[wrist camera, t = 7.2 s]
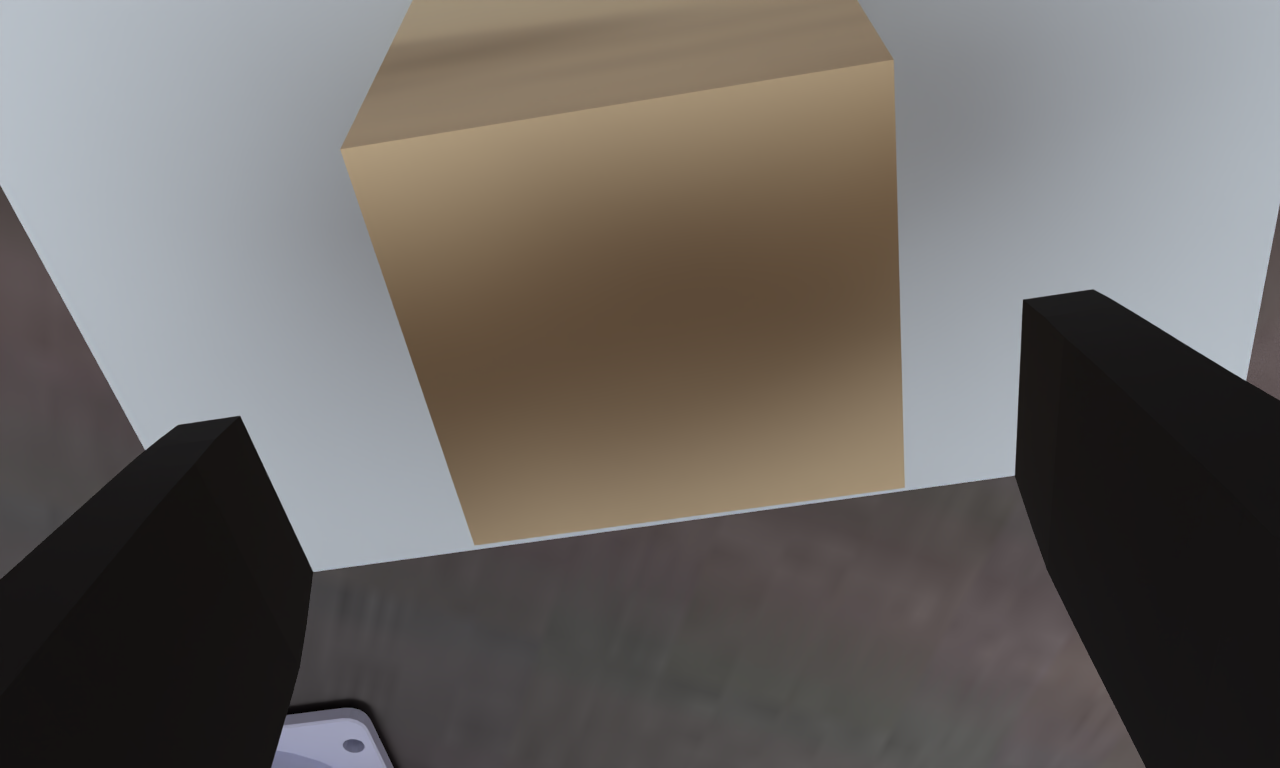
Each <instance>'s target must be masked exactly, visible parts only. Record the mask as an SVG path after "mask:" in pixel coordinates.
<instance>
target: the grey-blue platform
mask: <svg viewBox="0 0 1280 768" xmlns="http://www.w3.org/2000/svg"><path fill="white" fill-rule="evenodd" d="M857 1H858V2H859V4H860V6H861V7H862V9H863V10H864V12H865V14H866V15H867V17H868V19H869V20H870V22H871V23H872V25H873V27H874V28H875V30H876V32H877V33H878V35H879V36H880V38H881V40H882V41H883V43H884V45H885V46H886V48H887V49H888V51H889V53H890V54H891V56H892V58H893V59H894V87H895V125H896V164H897V203H898V241H899V280H900V319H901V357H902V396H903V435H904V473H905V488H900V489H892V490H885V491H877V492H870V493H862V494H855V495H847V496H840V497H833V498H825V499H818V500H810V501H803V502H795V503H788V504H780V505H773V506H765V507H758V508H751V509H743V510H736V511H728V512H721V513H713V514H706V515H698V516H691V517H683V518H676V519H668V520H661V521H654V522H646V523H639V524H631V525H624V526H616V527H609V528H601V529H594V530H586V531H579V532H571V533H564V534H557V535H549V536H542V537H534V538H527V539H519V540H512V541H504V542H497V543H489V544H482V545H474V543H473V540H472V537H471V534H470V531H469V528H468V525H467V522H466V519H465V516H464V513H463V510H462V507H461V504H460V501H459V499H458V496H457V493H456V490H455V487H454V484H453V481H452V478H451V475H450V472H449V469H448V466H447V463H446V460H445V457H444V454H443V451H442V448H441V445H440V442H439V440H438V437H437V434H436V431H435V428H434V425H433V422H432V419H431V416H430V413H429V410H428V407H427V404H426V401H425V398H424V395H423V392H422V389H421V386H420V384H419V381H418V378H417V375H416V372H415V369H414V366H413V363H412V360H411V357H410V354H409V351H408V348H407V345H406V342H405V339H404V336H403V333H402V330H401V327H400V325H399V322H398V319H397V316H396V313H395V310H394V307H393V304H392V301H391V298H390V295H389V292H388V289H387V286H386V283H385V280H384V277H383V274H382V271H381V268H380V266H379V263H378V260H377V257H376V254H375V251H374V248H373V245H372V242H371V239H370V236H369V233H368V230H367V227H366V224H365V221H364V218H363V215H362V212H361V210H360V207H359V204H358V201H357V198H356V195H355V192H354V189H353V186H352V183H351V180H350V177H349V174H348V171H347V168H346V165H345V162H344V159H343V156H342V153H341V151H340V149H341V147H342V145H343V142H344V140H345V138H346V136H347V134H348V132H349V130H350V128H351V126H352V124H353V122H354V120H355V118H356V116H357V114H358V112H359V109H360V107H361V105H362V103H363V101H364V99H365V97H366V95H367V93H368V91H369V89H370V87H371V85H372V83H373V81H374V79H375V77H376V74H377V72H378V70H379V68H380V66H381V64H382V62H383V60H384V58H385V56H386V54H387V52H388V50H389V48H390V46H391V44H392V42H393V39H394V37H395V35H396V33H397V31H398V29H399V27H400V25H401V23H402V21H403V19H404V17H405V15H406V13H407V11H408V9H409V7H410V4H411V2H412V0H0V185H1V187H2V189H3V191H4V193H5V195H6V196H7V198H8V200H9V202H10V204H11V205H12V207H13V209H14V211H15V213H16V215H17V216H18V218H19V220H20V222H21V224H22V226H23V227H24V229H25V231H26V233H27V235H28V237H29V238H30V240H31V242H32V244H33V246H34V248H35V249H36V251H37V253H38V255H39V257H40V259H41V260H42V262H43V264H44V266H45V268H46V270H47V271H48V273H49V275H50V277H51V279H52V280H53V282H54V284H55V286H56V288H57V290H58V291H59V293H60V295H61V297H62V299H63V301H64V302H65V304H66V306H67V308H68V310H69V312H70V313H71V315H72V317H73V319H74V321H75V323H76V324H77V326H78V328H79V330H80V332H81V334H82V335H83V337H84V339H85V341H86V343H87V345H88V346H89V348H90V350H91V352H92V354H93V355H94V357H95V359H96V361H97V363H98V365H99V366H100V368H101V370H102V372H103V374H104V376H105V377H106V379H107V381H108V383H109V385H110V387H111V388H112V390H113V392H114V394H115V396H116V398H117V399H118V401H119V403H120V405H121V407H122V409H123V410H124V412H125V414H126V416H127V418H128V419H129V421H130V423H131V425H132V427H133V429H134V430H135V432H136V434H137V436H138V438H139V440H140V441H141V443H142V445H143V447H144V449H145V450H146V449H147V448H149V447H150V446H151V445H152V444H154V443H155V442H156V441H157V440H159V439H160V438H161V437H162V436H164V435H165V434H166V433H168V432H169V431H170V430H172V429H173V428H174V427H176V426H177V425H180V424H187V423H194V422H200V421H207V420H214V419H221V418H227V417H234V416H241V419H242V421H243V423H244V425H245V427H246V429H247V431H248V433H249V436H250V438H251V440H252V442H253V444H254V446H255V448H256V451H257V453H258V455H259V457H260V459H261V461H262V463H263V466H264V468H265V470H266V472H267V474H268V476H269V478H270V480H271V483H272V485H273V487H274V489H275V491H276V493H277V495H278V498H279V500H280V502H281V504H282V506H283V508H284V510H285V512H286V515H287V517H288V519H289V521H290V523H291V525H292V527H293V530H294V532H295V534H296V536H297V538H298V540H299V542H300V545H301V547H302V549H303V551H304V553H305V555H306V557H307V559H308V562H309V564H310V566H311V568H312V570H313V572H317V571H324V570H331V569H339V568H346V567H353V566H360V565H368V564H375V563H382V562H389V561H397V560H404V559H411V558H419V557H426V556H433V555H440V554H448V553H455V552H462V551H470V550H477V549H484V548H491V547H499V546H506V545H513V544H520V543H528V542H535V541H542V540H550V539H557V538H564V537H571V536H579V535H586V534H593V533H601V532H608V531H615V530H622V529H630V528H637V527H644V526H652V525H659V524H666V523H673V522H681V521H688V520H695V519H702V518H710V517H717V516H724V515H732V514H739V513H746V512H753V511H761V510H768V509H775V508H783V507H790V506H797V505H804V504H812V503H819V502H826V501H834V500H841V499H848V498H855V497H863V496H870V495H877V494H884V493H892V492H899V491H906V490H914V489H921V488H928V487H935V486H943V485H950V484H957V483H965V482H972V481H979V480H986V479H994V478H1001V477H1008V476H1015V461H1016V439H1017V417H1018V395H1019V373H1020V351H1021V329H1022V307H1023V299H1030V298H1037V297H1043V296H1050V295H1057V294H1064V293H1070V292H1077V291H1084V290H1091V289H1094V290H1096V291H1098V292H1100V293H1101V294H1103V295H1105V296H1107V297H1109V298H1110V299H1112V300H1114V301H1116V302H1117V303H1119V304H1121V305H1122V306H1124V307H1126V308H1127V309H1129V310H1131V311H1132V312H1134V313H1136V314H1137V315H1139V316H1141V317H1142V318H1144V319H1145V320H1147V321H1149V322H1150V323H1152V324H1154V325H1155V326H1157V327H1158V328H1160V329H1162V330H1163V331H1165V332H1166V333H1168V334H1170V335H1171V336H1173V337H1175V338H1176V339H1178V340H1179V341H1181V342H1183V343H1184V344H1186V345H1188V346H1189V347H1191V348H1192V349H1194V350H1196V351H1197V352H1199V353H1201V354H1202V355H1204V356H1205V357H1207V358H1209V359H1210V360H1212V361H1214V362H1215V363H1217V364H1219V365H1220V366H1222V367H1224V368H1225V369H1227V370H1229V371H1230V372H1232V373H1234V374H1235V375H1237V376H1239V377H1240V378H1242V379H1244V380H1245V381H1246V378H1247V373H1248V367H1249V362H1250V357H1251V352H1252V346H1253V341H1254V336H1255V331H1256V325H1257V320H1258V315H1259V310H1260V305H1261V299H1262V294H1263V289H1264V284H1265V278H1266V273H1267V268H1268V263H1269V257H1270V252H1271V247H1272V242H1273V236H1274V231H1275V226H1276V221H1277V216H1278V210H1279V205H1280V0H857Z"/></svg>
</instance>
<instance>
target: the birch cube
mask: <svg viewBox="0 0 1280 768" xmlns="http://www.w3.org/2000/svg"><path fill="white" fill-rule="evenodd" d="M340 151H341V153H342V156H343V159H344V162H345V165H346V168H347V171H348V174H349V177H350V180H351V183H352V186H353V189H354V192H355V195H356V198H357V201H358V204H359V207H360V210H361V212H362V215H363V218H364V221H365V224H366V227H367V230H368V233H369V236H370V239H371V242H372V245H373V248H374V251H375V254H376V257H377V260H378V263H379V266H380V268H381V271H382V274H383V277H384V280H385V283H386V286H387V289H388V292H389V295H390V298H391V301H392V304H393V307H394V310H395V313H396V316H397V319H398V322H399V325H400V327H401V330H402V333H403V336H404V339H405V342H406V345H407V348H408V351H409V354H410V357H411V360H412V363H413V366H414V369H415V372H416V375H417V378H418V381H419V384H420V386H421V389H422V392H423V395H424V398H425V401H426V404H427V407H428V410H429V413H430V416H431V419H432V422H433V425H434V428H435V431H436V434H437V437H438V440H439V442H440V445H441V448H442V451H443V454H444V457H445V460H446V463H447V466H448V469H449V472H450V475H451V478H452V481H453V484H454V487H455V490H456V493H457V496H458V499H459V501H460V504H461V507H462V510H463V513H464V516H465V519H466V522H467V525H468V528H469V531H470V534H471V537H472V540H473V543H474V545H482V544H489V543H497V542H504V541H512V540H519V539H527V538H534V537H542V536H549V535H557V534H564V533H571V532H579V531H586V530H594V529H601V528H609V527H616V526H624V525H631V524H639V523H646V522H654V521H661V520H668V519H676V518H683V517H691V516H698V515H706V514H713V513H721V512H728V511H736V510H743V509H751V508H758V507H765V506H773V505H780V504H788V503H795V502H803V501H810V500H818V499H825V498H833V497H840V496H847V495H855V494H862V493H870V492H877V491H885V490H892V489H900V488H905V473H904V435H903V396H902V357H901V319H900V280H899V241H898V203H897V164H896V125H895V87H894V59H893V58H892V56H891V54H890V53H889V51H888V49H887V48H886V46H885V45H884V43H883V41H882V40H881V38H880V36H879V35H878V33H877V32H876V30H875V28H874V27H873V25H872V23H871V22H870V20H869V19H868V17H867V15H866V14H865V12H864V10H863V9H862V7H861V6H860V4H859V2H858V1H857V0H412V2H411V4H410V7H409V9H408V11H407V13H406V15H405V17H404V19H403V21H402V23H401V25H400V27H399V29H398V31H397V33H396V35H395V37H394V39H393V42H392V44H391V46H390V48H389V50H388V52H387V54H386V56H385V58H384V60H383V62H382V64H381V66H380V68H379V70H378V72H377V74H376V77H375V79H374V81H373V83H372V85H371V87H370V89H369V91H368V93H367V95H366V97H365V99H364V101H363V103H362V105H361V107H360V109H359V112H358V114H357V116H356V118H355V120H354V122H353V124H352V126H351V128H350V130H349V132H348V134H347V136H346V138H345V140H344V142H343V145H342V147H341V149H340Z"/></svg>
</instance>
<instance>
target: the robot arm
mask: <svg viewBox="0 0 1280 768" xmlns="http://www.w3.org/2000/svg"><path fill="white" fill-rule="evenodd" d="M1015 477H1016V480H1017V483H1018V487H1019V490H1020V493H1021V496H1022V499H1023V502H1024V505H1025V508H1026V511H1027V514H1028V517H1029V520H1030V523H1031V526H1032V529H1033V532H1034V534H1035V537H1036V540H1037V543H1038V546H1039V548H1040V551H1041V554H1042V557H1043V560H1044V562H1045V565H1046V568H1047V571H1048V573H1049V575H1050V577H1051V579H1052V581H1053V583H1054V585H1055V587H1056V589H1057V591H1058V593H1059V595H1060V597H1061V599H1062V601H1063V603H1064V606H1065V608H1066V610H1067V612H1068V614H1069V616H1070V618H1071V620H1072V622H1073V624H1074V626H1075V628H1076V630H1077V632H1078V634H1079V636H1080V638H1081V640H1082V642H1083V644H1084V646H1085V648H1086V650H1087V652H1088V654H1089V656H1090V658H1091V660H1092V662H1093V664H1094V666H1095V668H1096V670H1097V672H1098V674H1099V675H1100V677H1101V679H1102V681H1103V683H1104V685H1105V687H1106V689H1107V691H1108V693H1109V695H1110V697H1111V699H1112V701H1113V703H1114V705H1115V707H1116V709H1117V711H1118V713H1119V715H1120V717H1121V719H1122V721H1123V723H1124V725H1125V727H1126V729H1127V731H1128V733H1129V735H1130V737H1131V739H1132V741H1133V743H1134V745H1135V747H1136V749H1137V751H1138V753H1139V755H1140V757H1141V759H1142V761H1143V763H1144V765H1145V767H1146V768H1280V400H1278V399H1276V398H1274V397H1273V396H1271V395H1269V394H1267V393H1266V392H1264V391H1262V390H1261V389H1259V388H1257V387H1256V386H1254V385H1252V384H1250V383H1249V382H1247V381H1245V380H1244V379H1242V378H1240V377H1239V376H1237V375H1235V374H1234V373H1232V372H1230V371H1229V370H1227V369H1225V368H1224V367H1222V366H1220V365H1219V364H1217V363H1215V362H1214V361H1212V360H1210V359H1209V358H1207V357H1205V356H1204V355H1202V354H1201V353H1199V352H1197V351H1196V350H1194V349H1192V348H1191V347H1189V346H1188V345H1186V344H1184V343H1183V342H1181V341H1179V340H1178V339H1176V338H1175V337H1173V336H1171V335H1170V334H1168V333H1166V332H1165V331H1163V330H1162V329H1160V328H1158V327H1157V326H1155V325H1154V324H1152V323H1150V322H1149V321H1147V320H1145V319H1144V318H1142V317H1141V316H1139V315H1137V314H1136V313H1134V312H1132V311H1131V310H1129V309H1127V308H1126V307H1124V306H1122V305H1121V304H1119V303H1117V302H1116V301H1114V300H1112V299H1110V298H1109V297H1107V296H1105V295H1103V294H1101V293H1100V292H1098V291H1096V290H1094V289H1091V290H1084V291H1077V292H1070V293H1064V294H1057V295H1050V296H1043V297H1037V298H1030V299H1023V307H1022V329H1021V351H1020V373H1019V395H1018V417H1017V439H1016V461H1015ZM312 576H313V570H312V568H311V566H310V564H309V562H308V559H307V557H306V555H305V553H304V551H303V549H302V547H301V545H300V542H299V540H298V538H297V536H296V534H295V532H294V530H293V527H292V525H291V523H290V521H289V519H288V517H287V515H286V512H285V510H284V508H283V506H282V504H281V502H280V500H279V498H278V495H277V493H276V491H275V489H274V487H273V485H272V483H271V480H270V478H269V476H268V474H267V472H266V470H265V468H264V466H263V463H262V461H261V459H260V457H259V455H258V453H257V451H256V448H255V446H254V444H253V442H252V440H251V438H250V436H249V433H248V431H247V429H246V427H245V425H244V423H243V421H242V419H241V416H234V417H227V418H221V419H214V420H207V421H200V422H194V423H187V424H180V425H177V426H176V427H174V428H173V429H172V430H170V431H169V432H168V433H166V434H165V435H164V436H162V437H161V438H160V439H159V440H157V441H156V442H155V443H154V444H152V445H151V446H150V447H149V448H147V449H146V450H145V451H144V452H143V453H142V454H140V455H139V456H138V457H137V458H136V459H135V460H133V461H132V462H131V463H130V464H129V465H128V466H127V467H125V468H124V469H123V470H122V471H121V472H120V473H119V474H117V475H116V476H115V477H114V478H113V479H112V480H111V481H110V482H109V483H107V484H106V485H105V486H104V487H103V488H102V489H101V490H100V491H98V492H97V493H96V494H95V495H94V496H93V497H92V498H91V499H90V500H89V501H87V502H86V503H85V504H84V505H83V506H82V507H81V508H80V509H79V510H77V511H76V512H75V513H74V514H73V515H72V516H71V517H70V518H69V519H67V520H66V521H65V522H64V523H63V524H62V525H61V526H60V527H59V528H57V529H56V530H55V531H54V532H53V533H52V534H51V535H50V536H49V537H47V538H46V539H45V540H44V541H43V542H42V543H41V544H40V545H38V546H37V547H36V548H35V549H34V550H33V551H32V552H31V553H30V554H28V555H27V556H26V557H25V558H24V559H23V560H22V561H21V562H20V563H18V564H17V565H16V566H15V567H14V568H13V569H12V570H11V571H10V572H8V573H7V574H6V575H5V576H4V577H3V578H2V579H0V768H394V767H393V765H392V763H391V761H390V759H389V757H388V755H387V753H386V751H385V749H384V747H383V744H382V742H381V740H380V738H379V736H378V734H377V732H376V730H375V728H374V726H373V724H372V722H371V720H370V718H369V717H368V715H367V714H366V713H364V712H363V711H361V710H359V709H355V708H337V709H329V710H322V711H314V712H306V713H298V714H290V715H287V711H288V708H289V704H290V701H291V697H292V694H293V690H294V686H295V683H296V679H297V675H298V671H299V668H300V662H301V656H302V649H303V643H304V637H305V631H306V624H307V616H308V608H309V600H310V592H311V584H312Z"/></svg>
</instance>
